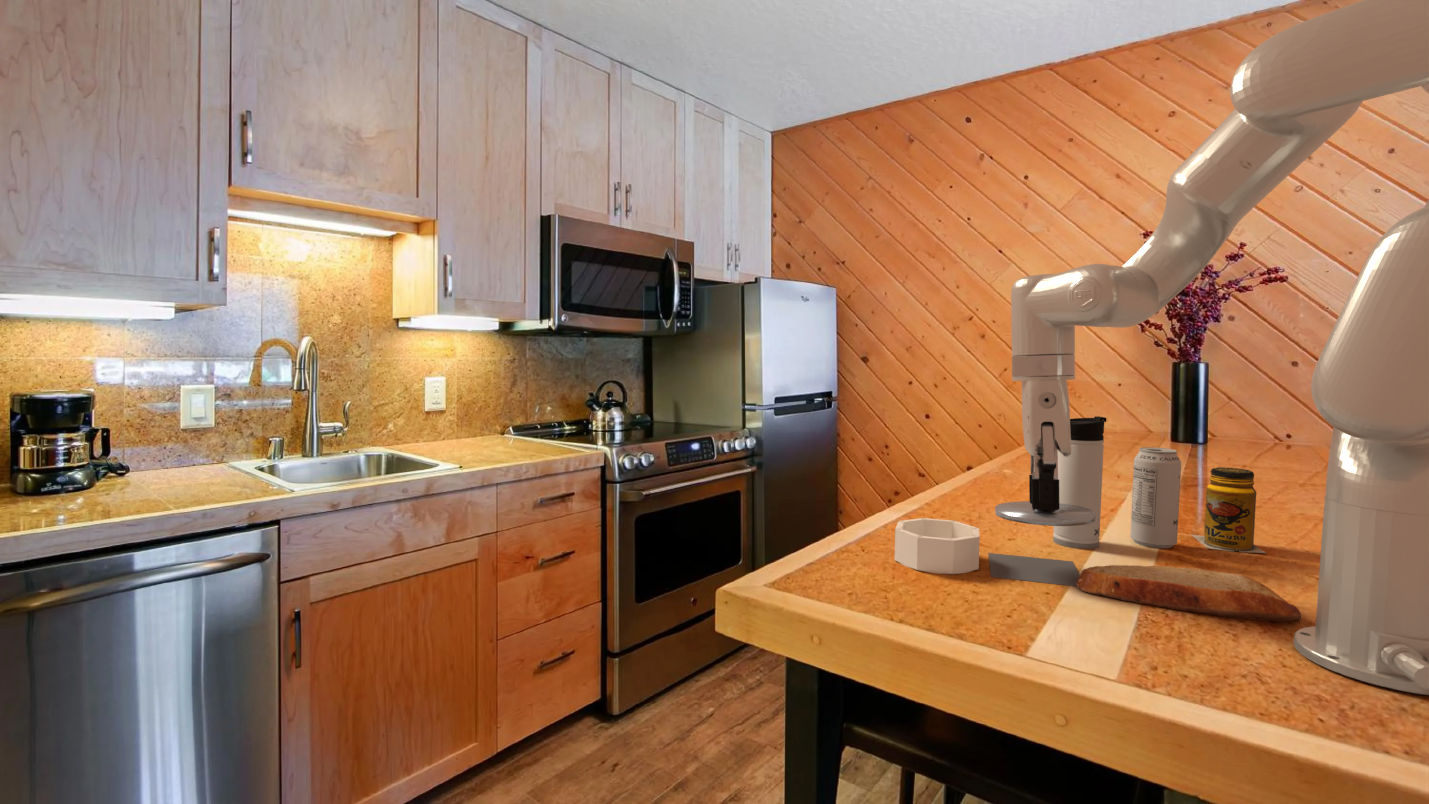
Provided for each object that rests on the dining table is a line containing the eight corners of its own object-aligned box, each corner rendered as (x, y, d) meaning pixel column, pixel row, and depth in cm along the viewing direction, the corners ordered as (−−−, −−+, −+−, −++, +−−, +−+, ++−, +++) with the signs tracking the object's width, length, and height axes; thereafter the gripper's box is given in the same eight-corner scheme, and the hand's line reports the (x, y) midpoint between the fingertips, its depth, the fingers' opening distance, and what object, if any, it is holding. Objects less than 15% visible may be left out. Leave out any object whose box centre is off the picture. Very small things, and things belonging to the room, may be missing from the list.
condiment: (1208, 550, 100) (1213, 471, 99) (1190, 535, 108) (1194, 462, 107) (1267, 555, 98) (1272, 475, 97) (1244, 539, 106) (1249, 465, 105)
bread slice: (1062, 583, 84) (1064, 554, 84) (1160, 569, 90) (1162, 542, 90) (1211, 643, 67) (1214, 607, 67) (1318, 620, 74) (1321, 588, 73)
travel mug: (1109, 551, 99) (1116, 419, 98) (1065, 551, 99) (1071, 418, 98) (1087, 539, 105) (1092, 414, 104) (1045, 539, 105) (1050, 414, 104)
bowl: (978, 580, 86) (980, 543, 86) (892, 570, 90) (892, 534, 90) (977, 556, 97) (978, 522, 96) (899, 548, 101) (900, 516, 100)
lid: (1104, 528, 81) (1103, 481, 80) (997, 522, 85) (996, 478, 85) (1087, 509, 92) (1086, 467, 92) (993, 505, 96) (993, 465, 96)
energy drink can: (1184, 552, 99) (1190, 453, 98) (1141, 550, 100) (1146, 452, 98) (1164, 541, 105) (1169, 447, 103) (1123, 539, 106) (1127, 446, 104)
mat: (1085, 590, 83) (1085, 587, 83) (990, 579, 87) (991, 576, 87) (1072, 564, 93) (1072, 561, 93) (988, 555, 97) (988, 552, 97)
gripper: (1085, 368, 79) (1086, 521, 79) (1065, 368, 94) (1066, 497, 95) (1016, 370, 81) (1017, 518, 82) (1008, 370, 97) (1009, 495, 97)
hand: (1044, 505), depth 88 cm, fingers closed on lid, 2 cm apart
